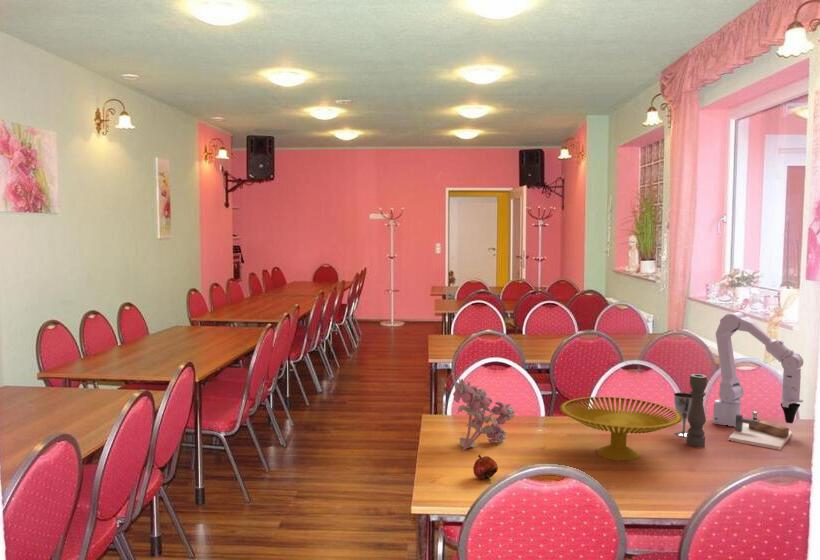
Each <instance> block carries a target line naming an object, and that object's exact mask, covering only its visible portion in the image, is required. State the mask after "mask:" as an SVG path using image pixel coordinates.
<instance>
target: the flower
mask: <svg viewBox="0 0 820 560" xmlns="http://www.w3.org/2000/svg"><path fill="white" fill-rule="evenodd" d="M452 395H453V400H454V402H456V403H457V404H459V403H460V401H462V403H464V404H466V405H464V404H463V405H459V407H458V409H457V414H460V412H463V411H464V412H466V416H469V417H468V423H467V424H466V425H465V427H467V434H466V437H463V436H462V437H459V443H460V445H461V447H462V449H461V451H462V452H464V451H465V450H467V449H469V448H473V449H474V448H475V445H476V444H475V443H476V442H475V441H476V440H477V439H478V438H479V437H480V435H481V434H484V435H486V437H487V438H488V439H487V440H488V442H489V443H495V442H498V443H499V444H503V443H504V440H508V438H507V434H508V432H507V431H505V430H504V429H503V427H502V425H504V424H505V423H506V422H507V421H512V419H513V418H514V417H515V416H516V413H517V411H515V408H513V407H510V406H511V405H512V404H511V403H507V404H505V405H504V403H503V402H502V401H496V402H494V404H495V405H493V407H492V408H490V406H491V404H492V403H493V399H492V398H491V397H489V396H487V392H486V389H485V388H484V389H483V388H478V386H477V385H476V384H475V385H471V381H470V380H469V381H467V383H466V381H465V380H464V379H463V378H458V381H454V392H453V393H452ZM486 412H489V413H490V414H489V415H486ZM494 415H495V416H498V417H497V418H494ZM472 416H473V417H474V418H472ZM489 422H492V423H491V424H488V423H489ZM484 423H485V424H488V425H484V427H483V424H484ZM472 428H474V429H475V431H474V433H472V435H471V437H470V433H471V430H472Z"/></svg>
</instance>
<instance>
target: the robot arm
mask: <svg viewBox="0 0 820 560" xmlns="http://www.w3.org/2000/svg"><path fill="white" fill-rule="evenodd" d="M737 331H740V332H745V333H746V332H748V333H749V334H750V335H751V336H752V337H754V338H755V339H756V340H758V341H759V342H761V343H762V344H763V345H764V346H765V351H766V352H767V353H768V354H770V355H771V356H772V357H773V358H775V359H776V360H777V361H778V362H779V363H781V368H783V375H782V389H781V390H782V391H781V392H782V395H781V403H780V407H781V409H782V411H783V414H784V420H785V423H787V424H792V425H793V423H794V420H795V418H796V414H797V411H798V410H799V407H801V404H800V403H803V402H804V399H801V398H800V397H801V396H800V395H801V378H802V376H801V375H802V374H801V371H802V367H803V365H804V358H803V357H802V356H801V355H800V354H799V353H797V352H796V353H795V351H794V350H791V349H789V348H788V347H787V346H786V345H785V344H784V341H783V340H779V339H775V338H774V339H773V338H771V337H770V336H769V335H768V334H767V333H766V332H765V331H764V330H763V329H762V328H761V327H760V326H759V325H757V324H756V323H755V322H754V321H753V319H752V318H751V317H749V316H747V315H746V314H745V313H744V312H741V311H736V312H732V313H727V314H725V315H724V316H723V317H722V318H720V319H719V324H718V327H717V330H716V332H715V338H716V339H715V340H716V345H717V351H718V358H719V367H720V375H721V380H720V382H719V389H718V397H719V399H715V400H714V403H713V410H712V411H713V412H712V424H716V425H721V426H726V425H728V427H732V426H733V428H735V426H736V415H737V414H740V415H741V404H742V401H741V398H742V397H743V396H744V389H743V388H744V387H742V385H741V380H740V379H739V378H738V376H737V371H736V365H735V363H736V362H735V359H734V358H735V357H734V349H733V342H732V336H733V335H734V334H735V333H736V332H737Z"/></svg>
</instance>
